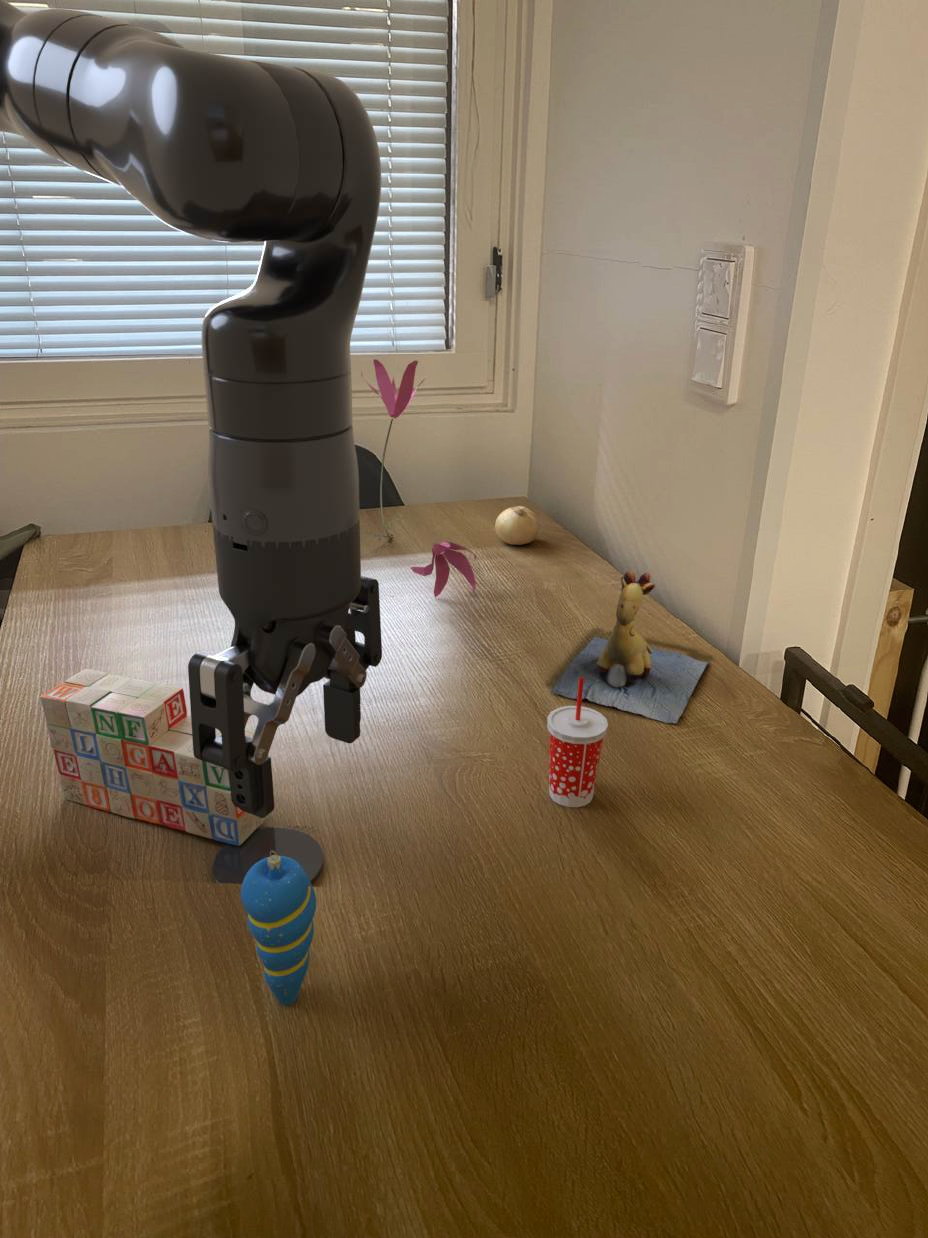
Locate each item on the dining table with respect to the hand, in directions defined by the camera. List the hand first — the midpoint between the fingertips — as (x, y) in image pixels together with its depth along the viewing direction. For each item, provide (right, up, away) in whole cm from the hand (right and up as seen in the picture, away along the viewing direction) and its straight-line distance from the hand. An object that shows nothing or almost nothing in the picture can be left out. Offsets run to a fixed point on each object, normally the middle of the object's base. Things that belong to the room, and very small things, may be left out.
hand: (301, 772), depth 54 cm
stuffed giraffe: (+32, +1, +65) cm, 72 cm away
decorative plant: (-6, +17, +96) cm, 97 cm away
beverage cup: (+21, -9, +42) cm, 48 cm away
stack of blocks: (-20, -10, +38) cm, 44 cm away
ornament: (-4, -21, +16) cm, 27 cm away
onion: (+19, +23, +111) cm, 114 cm away
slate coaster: (-8, -14, +30) cm, 34 cm away
